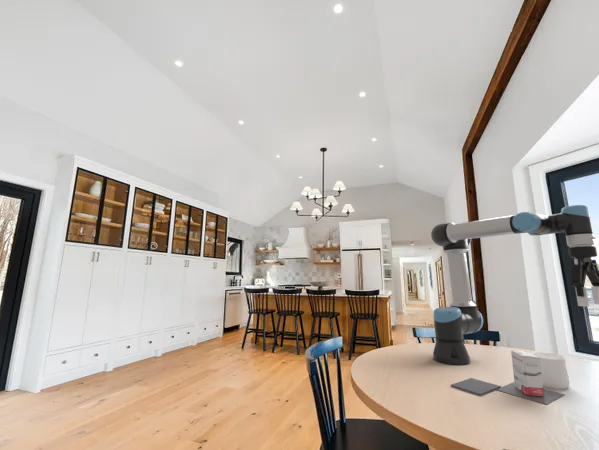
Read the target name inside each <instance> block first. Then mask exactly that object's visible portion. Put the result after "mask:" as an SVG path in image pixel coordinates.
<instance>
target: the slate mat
mask: <svg viewBox="0 0 599 450" xmlns="http://www.w3.org/2000/svg"><path fill="white" fill-rule="evenodd" d="M495 391H498V392H502V393H505V394H507V395H508V394H509V395H512V396H516V397H519V398H521V399H525V400H529V401H533V402H535V403H539V404H543V405H549V404H551V403H553V402H554V401H556V400H558V399H560V398H562V397H564V396H565V394H564V393H561V392H558V391H554V390H550V389H547V388H546V389H545V388H543V392H544V396H531V395H527V394H525V393H524V392H522V391H521V390H519V389H518V388H516V387H515V383H514V381H513V382H510V383H508V384H506V385H503V386H501V387H500V388H498V389H496V390H495Z"/></svg>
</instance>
